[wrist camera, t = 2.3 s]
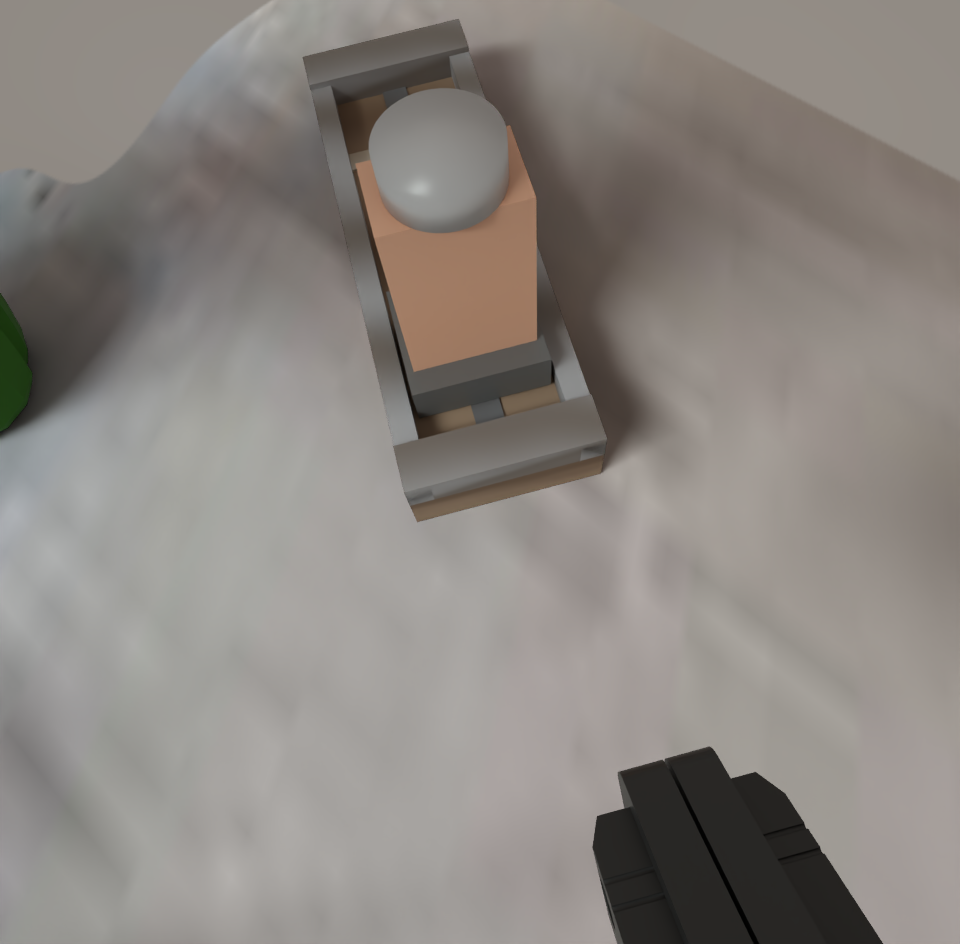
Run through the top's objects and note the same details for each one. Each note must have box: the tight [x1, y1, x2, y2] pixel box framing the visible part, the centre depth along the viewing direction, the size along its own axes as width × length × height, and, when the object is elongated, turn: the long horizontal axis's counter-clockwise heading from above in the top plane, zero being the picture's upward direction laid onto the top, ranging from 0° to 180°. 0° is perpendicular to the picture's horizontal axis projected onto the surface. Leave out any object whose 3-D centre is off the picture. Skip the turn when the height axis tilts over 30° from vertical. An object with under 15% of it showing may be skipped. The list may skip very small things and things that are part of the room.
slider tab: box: [356, 88, 551, 418], centre depth 28 cm, size 5×6×12 cm
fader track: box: [303, 19, 607, 522], centre depth 36 cm, size 24×8×4 cm, turn 14°
